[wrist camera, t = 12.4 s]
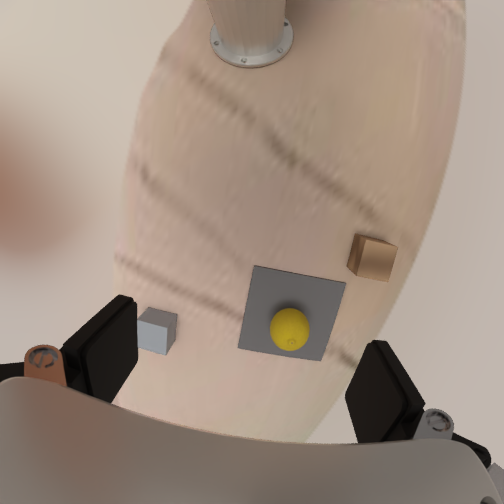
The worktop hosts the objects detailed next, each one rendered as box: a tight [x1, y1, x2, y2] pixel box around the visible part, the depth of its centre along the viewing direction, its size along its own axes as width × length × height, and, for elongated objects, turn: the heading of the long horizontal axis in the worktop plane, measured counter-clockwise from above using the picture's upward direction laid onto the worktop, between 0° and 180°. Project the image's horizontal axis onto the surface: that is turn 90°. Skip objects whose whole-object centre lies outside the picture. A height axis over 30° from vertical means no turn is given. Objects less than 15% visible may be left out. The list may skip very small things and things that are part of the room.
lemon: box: [270, 308, 310, 351], centre depth 38 cm, size 6×6×8 cm
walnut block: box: [347, 234, 398, 282], centre depth 37 cm, size 5×5×5 cm
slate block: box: [137, 307, 177, 355], centre depth 42 cm, size 5×5×5 cm
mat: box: [238, 265, 346, 361], centre depth 42 cm, size 14×14×1 cm
